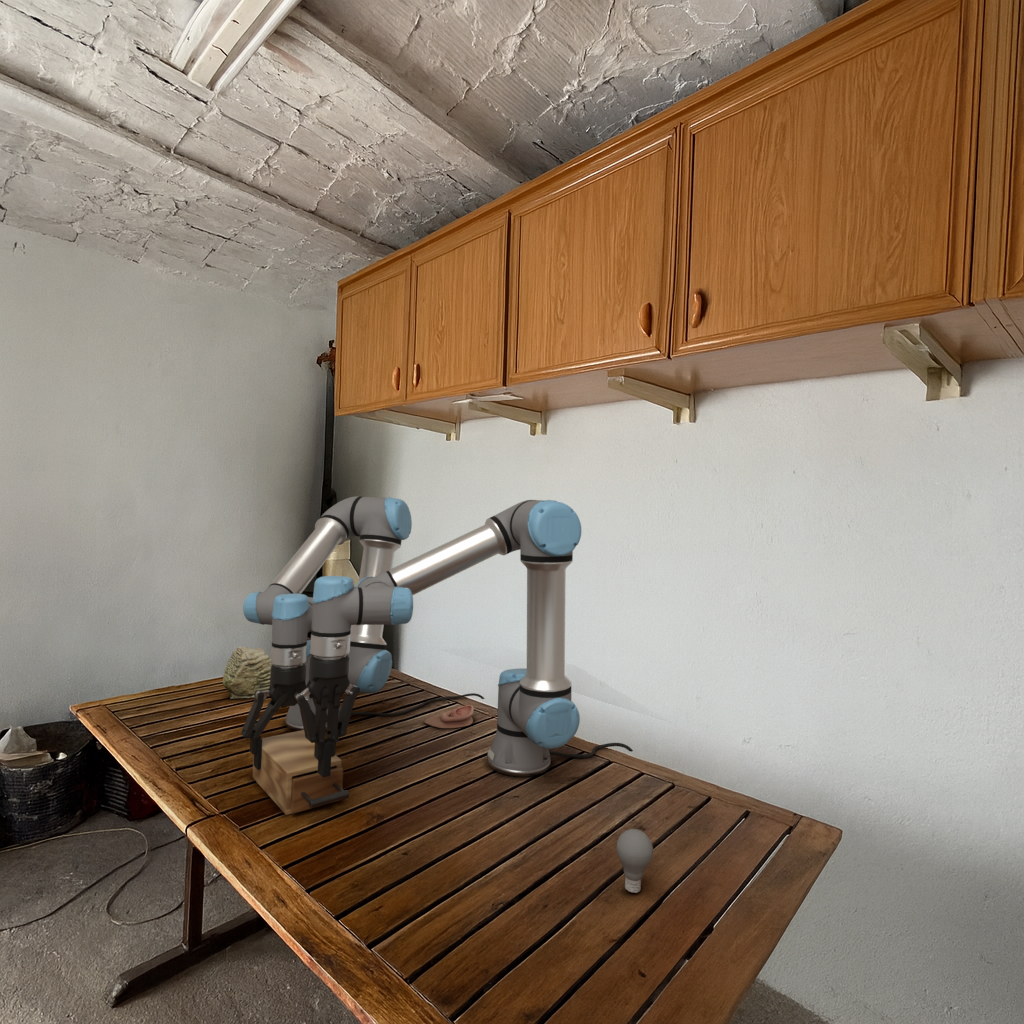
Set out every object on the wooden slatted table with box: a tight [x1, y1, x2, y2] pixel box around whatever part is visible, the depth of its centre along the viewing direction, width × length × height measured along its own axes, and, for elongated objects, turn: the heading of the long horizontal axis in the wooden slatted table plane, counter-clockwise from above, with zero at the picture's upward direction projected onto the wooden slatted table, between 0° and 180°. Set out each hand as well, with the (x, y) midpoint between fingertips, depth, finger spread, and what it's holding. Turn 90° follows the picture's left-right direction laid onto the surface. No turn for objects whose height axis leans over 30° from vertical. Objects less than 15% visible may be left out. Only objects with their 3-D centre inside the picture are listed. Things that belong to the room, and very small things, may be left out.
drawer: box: [291, 766, 350, 814], centre depth 133 cm, size 25×10×6 cm, turn 40°
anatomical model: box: [424, 704, 475, 729], centre depth 181 cm, size 13×4×12 cm
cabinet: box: [252, 730, 342, 816], centre depth 137 cm, size 20×11×8 cm, turn 40°
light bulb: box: [615, 828, 654, 894], centre depth 106 cm, size 6×6×10 cm
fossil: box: [222, 646, 273, 699], centre depth 198 cm, size 9×18×15 cm, turn 132°
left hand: (285, 760), depth 142 cm, fingers closed on cabinet, 11 cm apart
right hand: (323, 773), depth 125 cm, fingers closed
